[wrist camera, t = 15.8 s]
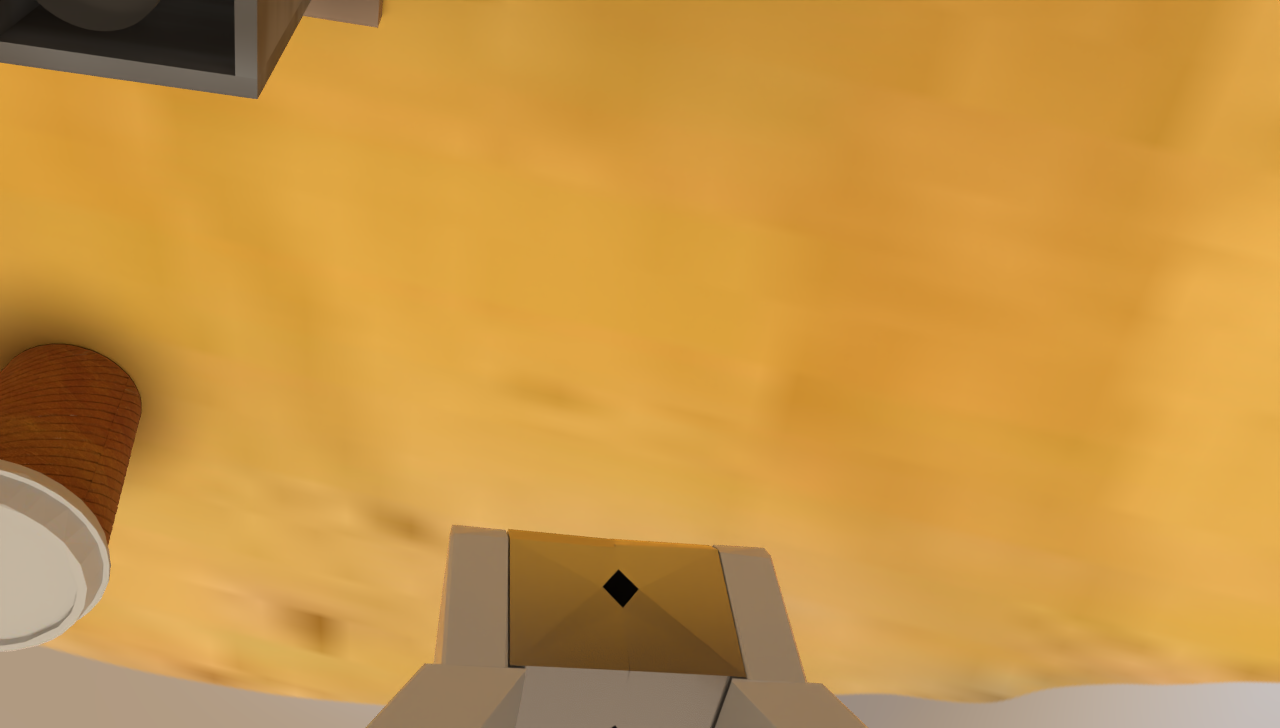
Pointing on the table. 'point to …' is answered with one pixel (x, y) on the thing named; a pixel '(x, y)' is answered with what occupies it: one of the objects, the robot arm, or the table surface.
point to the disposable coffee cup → (59, 486)
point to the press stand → (174, 41)
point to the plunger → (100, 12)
